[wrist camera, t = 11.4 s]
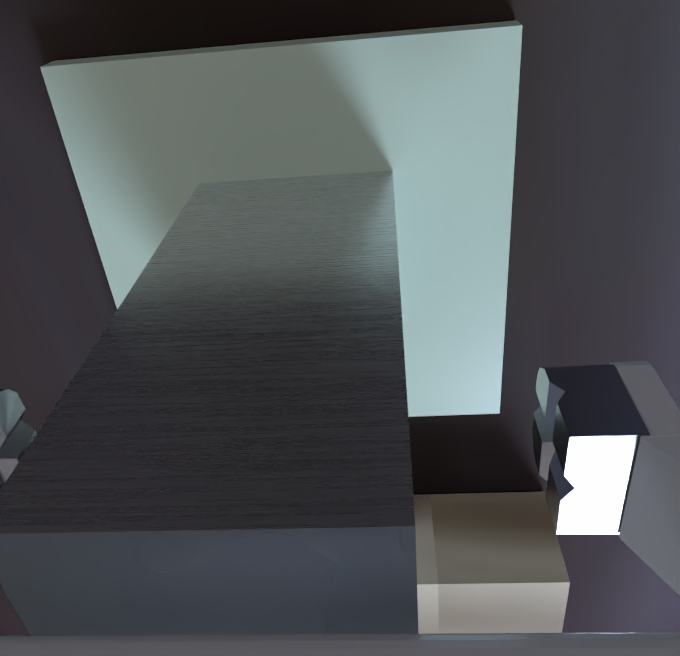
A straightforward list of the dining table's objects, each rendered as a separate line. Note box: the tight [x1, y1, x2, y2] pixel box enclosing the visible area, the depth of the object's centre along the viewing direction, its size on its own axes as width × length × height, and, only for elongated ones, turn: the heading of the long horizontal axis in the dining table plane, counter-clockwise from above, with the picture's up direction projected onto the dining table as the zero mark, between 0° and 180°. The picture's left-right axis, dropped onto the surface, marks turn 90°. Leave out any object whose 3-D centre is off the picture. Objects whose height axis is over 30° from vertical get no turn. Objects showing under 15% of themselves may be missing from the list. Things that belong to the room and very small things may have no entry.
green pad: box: [40, 21, 522, 417], centre depth 15 cm, size 9×9×1 cm
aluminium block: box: [0, 171, 419, 636], centre depth 11 cm, size 4×4×9 cm
